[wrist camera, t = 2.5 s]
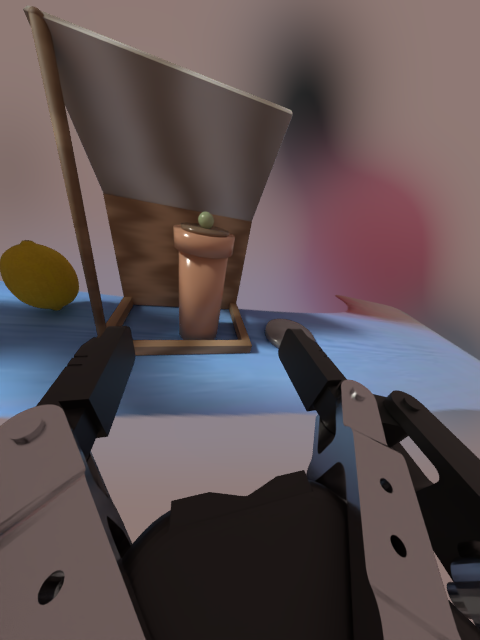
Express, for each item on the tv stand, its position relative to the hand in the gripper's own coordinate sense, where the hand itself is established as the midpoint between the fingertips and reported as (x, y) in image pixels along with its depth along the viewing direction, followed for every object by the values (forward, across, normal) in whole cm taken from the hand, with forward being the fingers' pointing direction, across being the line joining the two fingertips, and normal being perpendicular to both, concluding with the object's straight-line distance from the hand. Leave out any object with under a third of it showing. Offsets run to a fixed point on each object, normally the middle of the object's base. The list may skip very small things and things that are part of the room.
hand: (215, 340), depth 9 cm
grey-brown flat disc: (+10, -12, +8) cm, 18 cm away
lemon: (+15, +17, +8) cm, 24 cm away
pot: (+12, 0, +8) cm, 14 cm away
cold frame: (+13, +2, +8) cm, 16 cm away
